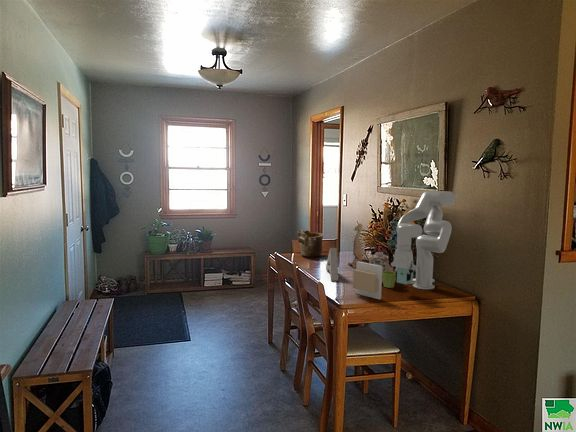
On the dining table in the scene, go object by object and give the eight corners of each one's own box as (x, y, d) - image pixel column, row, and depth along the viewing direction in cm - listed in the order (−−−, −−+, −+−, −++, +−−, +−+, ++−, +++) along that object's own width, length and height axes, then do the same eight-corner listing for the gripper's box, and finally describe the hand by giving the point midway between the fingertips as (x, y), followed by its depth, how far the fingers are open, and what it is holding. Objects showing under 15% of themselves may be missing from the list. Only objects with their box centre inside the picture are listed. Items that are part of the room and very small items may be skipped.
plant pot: (378, 284, 268) (379, 270, 267) (394, 284, 268) (394, 270, 268) (383, 288, 258) (383, 274, 258) (398, 288, 259) (399, 274, 258)
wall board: (356, 292, 248) (358, 261, 246) (380, 299, 237) (382, 266, 235) (351, 294, 244) (352, 262, 242) (375, 300, 233) (376, 267, 231)
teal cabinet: (406, 278, 254) (407, 263, 253) (415, 280, 250) (416, 265, 248) (396, 282, 246) (396, 266, 245) (405, 284, 242) (406, 268, 241)
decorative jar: (388, 279, 282) (389, 251, 281) (387, 283, 271) (388, 254, 269) (369, 277, 285) (370, 250, 284) (367, 281, 274) (368, 253, 273)
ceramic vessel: (337, 247, 349) (319, 223, 342) (314, 267, 345) (296, 243, 339) (327, 242, 370) (310, 219, 364) (305, 261, 367) (287, 238, 360)
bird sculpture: (346, 265, 323) (347, 222, 319) (361, 264, 326) (362, 222, 322) (353, 269, 312) (353, 224, 309) (368, 268, 315) (369, 224, 312)
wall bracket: (333, 296, 298) (338, 280, 272) (326, 296, 298) (331, 280, 272) (332, 266, 309) (337, 247, 283) (325, 266, 309) (330, 247, 283)
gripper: (386, 246, 247) (386, 277, 249) (414, 250, 234) (413, 283, 237) (394, 244, 252) (393, 275, 254) (421, 248, 240) (420, 281, 242)
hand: (403, 279), depth 245 cm, fingers closed on teal cabinet, 6 cm apart
